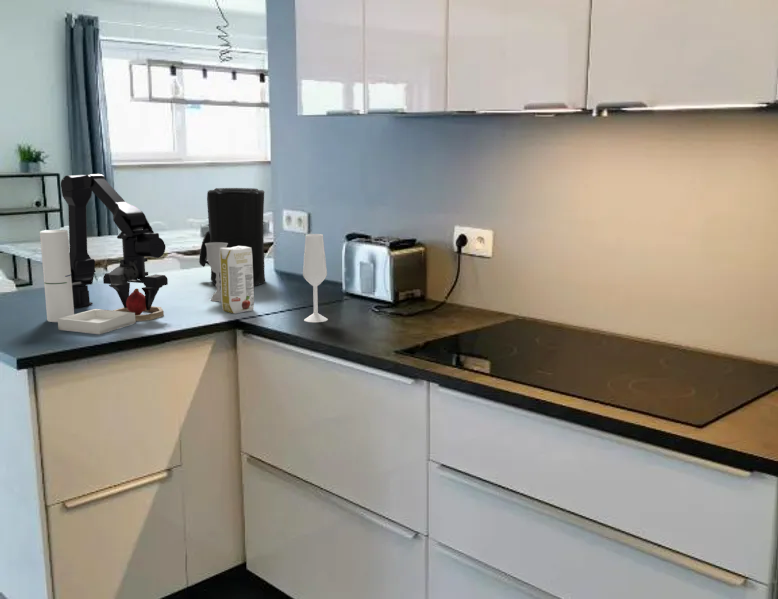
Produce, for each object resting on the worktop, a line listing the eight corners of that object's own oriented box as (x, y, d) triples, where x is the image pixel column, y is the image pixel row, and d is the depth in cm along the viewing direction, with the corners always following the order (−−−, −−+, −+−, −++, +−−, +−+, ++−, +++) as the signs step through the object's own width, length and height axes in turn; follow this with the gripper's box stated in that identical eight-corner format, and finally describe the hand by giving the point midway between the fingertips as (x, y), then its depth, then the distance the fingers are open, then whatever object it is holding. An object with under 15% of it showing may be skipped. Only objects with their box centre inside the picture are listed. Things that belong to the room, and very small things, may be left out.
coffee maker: (254, 274, 304) (251, 184, 297) (290, 286, 277) (288, 189, 270) (196, 279, 292) (192, 186, 285) (228, 293, 265) (224, 191, 258)
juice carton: (257, 310, 237) (255, 247, 234) (233, 315, 231) (230, 249, 228) (242, 307, 242) (240, 244, 239) (218, 311, 236) (215, 247, 233)
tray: (58, 329, 213) (57, 318, 212) (95, 319, 226) (95, 308, 225) (99, 334, 208) (98, 323, 207) (135, 323, 221) (135, 312, 220)
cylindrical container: (79, 317, 228) (73, 230, 223) (62, 322, 221) (54, 233, 217) (59, 315, 230) (52, 229, 225) (41, 321, 224) (33, 232, 219)
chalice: (202, 301, 252) (200, 244, 248) (215, 297, 258) (212, 241, 254) (222, 302, 249) (220, 245, 245) (234, 298, 255) (232, 242, 252)
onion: (141, 318, 227) (139, 290, 225) (123, 317, 228) (121, 290, 226) (151, 314, 232) (150, 287, 231) (133, 313, 233) (131, 286, 232)
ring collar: (101, 318, 226) (100, 313, 226) (134, 309, 239) (134, 304, 239) (141, 322, 221) (140, 317, 221) (172, 313, 234) (172, 308, 233)
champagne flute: (331, 320, 223) (330, 235, 219) (308, 323, 220) (307, 236, 216) (322, 316, 229) (321, 233, 225) (300, 318, 226) (298, 234, 222)
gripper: (87, 257, 223) (91, 311, 226) (141, 260, 216) (144, 317, 219) (115, 252, 233) (118, 304, 236) (167, 255, 226) (170, 309, 229)
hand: (137, 308), depth 230 cm, fingers open, 8 cm apart
